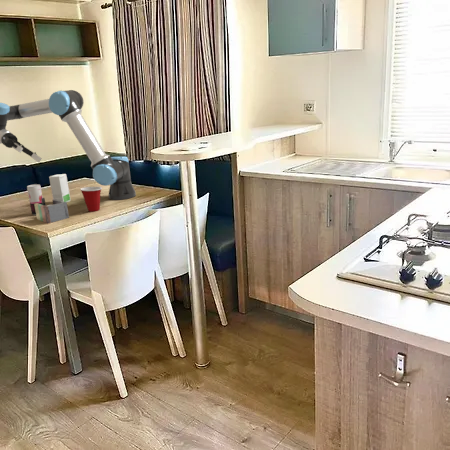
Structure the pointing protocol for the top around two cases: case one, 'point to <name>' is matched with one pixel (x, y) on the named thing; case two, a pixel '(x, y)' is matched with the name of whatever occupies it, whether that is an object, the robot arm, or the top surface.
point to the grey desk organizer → (52, 211)
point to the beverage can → (34, 196)
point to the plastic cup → (92, 198)
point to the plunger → (44, 202)
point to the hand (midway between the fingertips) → (30, 155)
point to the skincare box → (60, 187)
